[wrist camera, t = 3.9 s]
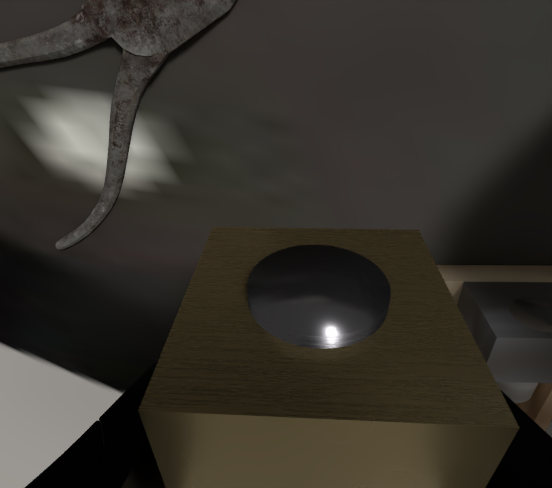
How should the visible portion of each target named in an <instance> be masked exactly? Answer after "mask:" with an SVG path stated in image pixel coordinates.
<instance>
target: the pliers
mask: <svg viewBox="0 0 552 488" xmlns="http://www.w3.org/2000/svg"><path fill="white" fill-rule="evenodd" d="M235 1H236V0H87V1H86V2H85V3H84V4H83V5H82V10H80V11H79V12H78V13H77V14H76V15H75V16H73V17H72V18H71V19H70V20H69V21H67V22H65V23H63V24H61V25H59V26H56V27H54V28H52V29H49V30H46V31H44V32H41V33H38V34H35V35H31V36H27V37H24V38H20V39H16V40H12V41H9V42H5V43H1V44H0V68H3V67H8V66H13V65H19V64H25V63H31V62H39V61H47V60H52V59H56V58H61V57H66V56H70V55H73V54H75V53H78V52H81V51H84V50H86V49H89V48H91V47H93V46H96V45H98V44H100V43H102V42H104V41H107V40H108V39H109V38H110V37H112V38H113V39H114V40H115V41H116V42H117V43H118V44H119V45H120V46H121V47H122V48H123V57H122V61H121V65H120V69H119V73H118V77H117V80H116V85H115V89H114V94H113V98H112V104H111V114H110V128H109V147H108V160H107V170H106V177H105V183H104V188H103V191H102V194H101V196H100V199H99V202H98V203H97V205H96V206H95V208H94V210H93V211H92V213H91V214H90V215H89V217H88V218H87V219H86V220H85V222H84V223H83V224H82V225H80V226H79V227H78V228H77V229H76V230H74V231H73V232H71V233H69V234H68V235H66V236H65V237H63V238H62V239H60V240H59V241H57V242H56V248H57V249H61V250H62V249H65V248H67V247H70V246H72V245H74V244H75V243H77V242H79V241H80V240H82V239H83V238H84V237H86V236H87V235H88V234H90V233H91V232H92V231H93V230H94V229H95V228H96V227H97V226H98V225H99V224H100V222H101V221H102V220H103V219H104V218H105V217H106V215H107V214H108V212H109V211H110V210H111V208H112V207H113V205H114V203H115V201H116V199H117V197H118V195H119V193H120V189H121V186H122V182H123V179H124V174H125V169H126V163H127V158H128V152H129V146H130V141H131V135H132V129H133V125H134V120H135V116H136V112H137V109H138V105H139V102H140V99H141V96H142V94H143V92H144V90H145V88H146V87H147V85H148V83H149V81H150V79H151V78H152V77H153V76H154V75H155V73H156V72H157V70H158V69H159V68H160V66H161V65H162V63H163V62H164V61H165V59H166V58H167V56H168V55H169V54H170V53H171V52H173V51H174V50H176V49H177V48H178V47H180V46H181V45H183V44H184V43H185V42H187V41H188V40H189V39H191V38H192V37H193V36H195V35H196V34H198V33H199V32H200V31H202V30H203V29H204V28H206V27H207V26H208V25H210V24H211V23H213V22H214V21H215V20H217V19H218V18H219V17H221V16H222V15H224V14H225V13H226V12H228V11H229V10H230V9H231V8H232V6H233V4H234V3H235ZM158 53H159V54H158ZM155 54H157V55H155ZM152 55H154V56H152Z"/></svg>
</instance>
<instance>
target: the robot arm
mask: <svg viewBox="0 0 552 488" xmlns="http://www.w3.org/2000/svg"><path fill="white" fill-rule="evenodd" d="M159 358H160V357H159ZM159 358H158V359H157V360H156V361H155V362H154V363H153V364H152V365H151V366H150V367H149V368H148V369H147V370H146V371H145V372H144V373H143V374H142V375H141V376H140V377H139V378H138V379H137V380H136V381H135V382H134V383H133V384H132V385H131V386H130V387H129V388H128V389H127V390H126V391H125V392H124V393H123V394H122V395H121V397H119V399H118V400H117V401H116V402H115V403H114V404H113V405H112V406H111V407H110V408H109V409H108V410H107V411H106V412H105V413H104V414H103V415H102V416H101V417H100V418H99V421H96V422H95V423H94V424H93V425H92V426H91V427H90V428H89V429H88V430H87V431H86V432H85V433H84V434H83V435H82V436H81V437H80V438H79V439H78V440H77V441H76V442H75V443H74V444H72V445H71V446H70V447H69V448H68V449H67V450H66V451H65V452H64V453H63V454H62V455H61V456H60V457H59V458H58V459H57V460H56V461H54V462H53V463H52V464H51V465H50V466H49V467H48V468H47V469H46V470H44V471H43V472H42V473H41V474H40V475H39V476H38V477H36V478H35V479H34V480H33V481H32V482H31V483H30V484H28V485H27V486H26V487H25V488H166V487H165V484H164V481H163V479H162V476H161V473H160V470H159V468H158V465H157V462H156V459H155V456H154V454H153V451H152V448H151V445H150V442H149V440H148V437H147V434H146V431H145V428H144V426H143V423H142V420H141V417H140V414H139V412H138V410H139V407H140V405H141V402H142V400H143V397H144V395H145V392H146V390H147V387H148V385H149V383H150V380H151V378H152V375H153V373H154V370H155V368H156V365H157V363H158V360H159ZM499 389H500V388H499ZM500 390H501V389H500ZM501 392H502V394H503V396H504V398H505V400H506V402H507V404H508V406H509V408H510V410H511V412H512V414H513V416H514V418H515V420H516V422H517V424H518V426H519V430H518V431H517V433H516V435H515V437H514V438H513V440H512V442H511V444H510V445H509V447H508V449H507V451H506V452H505V454H504V456H503V458H502V459H501V461H500V463H499V465H498V466H497V468H496V470H495V472H494V473H493V475H492V477H491V479H490V481H489V482H488V484H487V486H486V488H552V437H551V436H549V435H548V434H547V433H546V432H545V431H544V430H543V429H542V428H541V427H540V426H539V425H538V424H537V423H536V422H535V421H534V420H532V419H531V418H530V417H529V416H528V415H527V414H526V413H525V412H524V411H523V410H522V409H521V408H520V407H519V406H518V405H517V404H515V403H514V402H513V401H512V400H511V399H510V398H509V397H508V396H507V395H506V394H505V393H504V392H503V391H502V390H501Z"/></svg>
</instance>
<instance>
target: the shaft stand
mask: <svg viewBox="0 0 552 488" xmlns="http://www.w3.org/2000/svg"><path fill="white" fill-rule="evenodd" d="M437 267H438V269H439V271H440V273H441V275H442V277H443V279H444V281H445V283H446V285H447V287H448V289H449V291H450V293H451V295H452V297H453V299H454V300H455V302H456V304H457V306H458V308H459V310H460V312H461V314H462V316H463V318H464V320H465V322H466V324H467V326H468V328H469V330H470V332H471V334H472V336H473V338H474V340H475V342H476V344H477V345H478V347H479V349H480V351H481V353H482V355H483V357H484V359H485V361H486V363H487V365H488V367H489V369H490V371H491V373H492V375H493V377H494V379H495V381H496V383H497V385H498V387H499V388H500V389H501V390H502V391H503V392H504V393H505V394H506V395H507V396H508V397H509V398H510V399H511V400H512V401H513V402H514V403H515V404H517V405H518V406H519V407H520V408H521V409H522V410H523V411H524V412H525V413H526V414H527V415H528V416H529V417H530V418H531V419H532V420H534V421H535V422H536V423H537V424H538V425H539V426H540V427H541V428H542V429H543V430H544V431H545V430H546V429H547V427H548V425H549V424H550V422H551V420H552V266H542V265H437Z"/></svg>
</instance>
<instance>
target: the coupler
mask: <svg viewBox="0 0 552 488" xmlns="http://www.w3.org/2000/svg"><path fill="white" fill-rule="evenodd" d="M138 412H139V414H140V417H141V420H142V423H143V426H144V428H145V431H146V434H147V437H148V440H149V442H150V445H151V448H152V451H153V454H154V456H155V459H156V462H157V465H158V468H159V470H160V473H161V476H162V479H163V481H164V484H165V487H166V488H486V486H487V484H488V482H489V481H490V479H491V477H492V475H493V473H494V472H495V470H496V468H497V466H498V465H499V463H500V461H501V459H502V458H503V456H504V454H505V452H506V451H507V449H508V447H509V445H510V444H511V442H512V440H513V438H514V437H515V435H516V433H517V431H518V430H519V426H518V424H517V422H516V420H515V418H514V416H513V414H512V412H511V410H510V408H509V406H508V404H507V402H506V400H505V398H504V396H503V394H502V392H501V390H500V389H499V387H498V385H497V383H496V381H495V379H494V377H493V375H492V373H491V371H490V369H489V367H488V365H487V363H486V361H485V359H484V357H483V355H482V353H481V351H480V349H479V347H478V345H477V344H476V342H475V340H474V338H473V336H472V334H471V332H470V330H469V328H468V326H467V324H466V322H465V320H464V318H463V316H462V314H461V312H460V310H459V308H458V306H457V304H456V302H455V300H454V299H453V297H452V295H451V293H450V291H449V289H448V287H447V285H446V283H445V281H444V279H443V277H442V275H441V273H440V271H439V269H438V267H437V265H436V263H435V261H434V259H433V257H432V255H431V254H430V252H429V250H428V248H427V246H426V244H425V242H424V240H423V238H422V236H421V234H420V232H419V230H391V229H321V228H252V227H212V230H211V232H210V235H209V237H208V240H207V242H206V244H205V247H204V249H203V252H202V254H201V257H200V259H199V262H198V264H197V267H196V269H195V272H194V274H193V277H192V279H191V281H190V284H189V286H188V289H187V291H186V294H185V296H184V299H183V301H182V304H181V306H180V309H179V311H178V314H177V316H176V318H175V321H174V323H173V326H172V328H171V331H170V333H169V336H168V338H167V341H166V343H165V346H164V348H163V351H162V353H161V355H160V358H159V360H158V363H157V365H156V368H155V370H154V373H153V375H152V378H151V380H150V383H149V385H148V387H147V390H146V392H145V395H144V397H143V400H142V402H141V405H140V407H139V410H138Z"/></svg>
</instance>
